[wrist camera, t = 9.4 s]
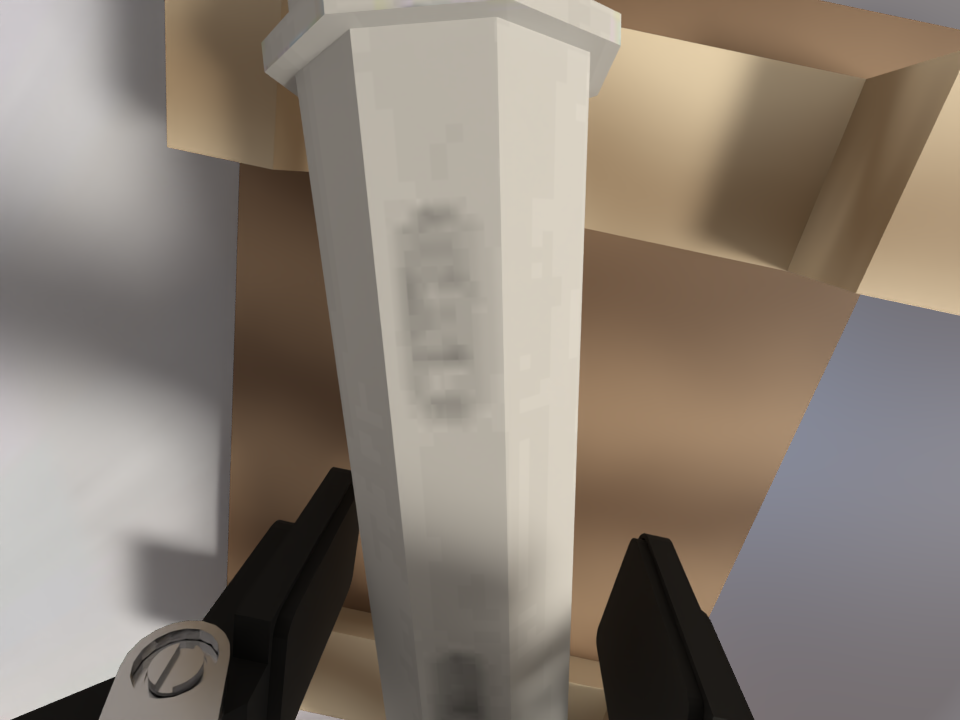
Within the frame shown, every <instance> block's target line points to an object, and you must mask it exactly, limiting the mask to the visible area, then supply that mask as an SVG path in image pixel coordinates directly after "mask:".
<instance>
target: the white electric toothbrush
mask: <svg viewBox="0 0 960 720" xmlns="http://www.w3.org/2000/svg"><path fill="white" fill-rule="evenodd" d="M288 8H289V12H288V13H287V15H286V16H285V17H284V18H283V19H282V20H281V21H280V22H279V23H278V25H277V26H276V27H275V28H274V29H273V30H272V31H271V32H270V34H269V35H268V36H267V37H266V38H265V39H264V40H263V41H262V42H261V45H262V54H263V63H264V72H265V73H266V74H268V75H269V76H270V77H272V78H273V79H274V80H276V81H277V82H279V83H280V84H281V85H283V86H284V87H285V88H287V89H288V90H289V91H291V92H292V93H293V94H295V95H296V96H297V97H298V98H299V105H300V112H301V119H302V126H303V133H304V140H305V148H306V155H307V162H308V169H309V176H310V183H311V190H312V197H313V204H314V211H315V218H316V225H317V233H318V240H319V247H320V254H321V261H322V268H323V275H324V282H325V289H326V296H327V303H328V311H329V318H330V325H331V332H332V339H333V346H334V353H335V360H336V367H337V374H338V381H339V388H340V396H341V403H342V410H343V417H344V424H345V431H346V438H347V445H348V452H349V459H350V466H351V473H352V481H353V488H354V495H355V502H356V509H357V516H358V523H359V530H360V537H361V544H362V551H363V558H364V566H365V573H366V580H367V587H368V594H369V601H370V608H371V615H372V622H373V629H374V636H375V644H376V651H377V658H378V665H379V672H380V679H381V686H382V693H383V700H384V707H385V714H386V720H568V691H569V662H570V633H571V603H572V574H573V545H574V516H575V487H576V458H577V428H578V399H579V370H580V341H581V312H582V283H583V254H584V224H585V195H586V166H587V137H588V108H589V98H591V97H594V96H597V95H598V93H599V91H600V89H601V87H602V85H603V83H604V80H605V78H606V76H607V74H608V72H609V70H610V68H611V65H612V63H613V61H614V59H615V57H616V55H617V53H618V50H619V48H620V46H621V14H620V13H618V12H616V11H614V10H612V9H610V8H608V7H606V6H604V5H602V4H600V3H598V2H596V1H594V0H288Z"/></svg>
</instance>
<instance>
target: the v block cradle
mask: <svg viewBox="0 0 960 720" xmlns="http://www.w3.org/2000/svg"><path fill="white" fill-rule="evenodd" d="M594 1H596V2H598V3H600V4H602V5H604V6H606V7H608V8H610V9H612V10H614V11H616V12H618V13H620V14H621V46H620V48H619V50H618V53H617V55H616V57H615V59H614V61H613V63H612V65H611V68H610V70H609V72H608V74H607V76H606V78H605V80H604V83H603V85H602V87H601V89H600V91H599V93H598V95H597V96H594V97H591V98H589V108H588V137H587V166H586V195H585V224H584V254H583V283H582V312H581V341H580V370H579V399H578V428H577V458H576V487H575V516H574V545H573V574H572V603H571V633H570V662H569V691H568V720H609V718H608V712H607V706H606V700H605V694H604V688H603V682H602V676H601V670H600V664H599V658H598V653H597V646H596V636H597V629H598V626H599V623H600V621H601V618H602V615H603V613H604V610H605V607H606V605H607V602H608V599H609V596H610V594H611V591H612V588H613V586H614V583H615V580H616V578H617V575H618V572H619V569H620V567H621V564H622V561H623V559H624V556H625V553H626V551H627V548H628V545H629V543H630V541H631V539H632V538H637V539H638V538H639V536H640V535H641V534H643V533H646V534H651V535H656V536H660V537H665V538H668V539H670V540H671V541H672V543H673V546H674V548H675V550H676V552H677V555H678V557H679V559H680V562H681V564H682V566H683V569H684V571H685V573H686V576H687V578H688V580H689V583H690V585H691V587H692V590H693V592H694V594H695V597H696V599H697V601H698V604H699V606H700V608H701V610H702V611H704V612H705V613H706V614H707V616H708V617H709V616H710V613H711V611H712V609H713V607H714V605H715V603H716V601H717V599H718V596H719V594H720V592H721V590H722V588H723V586H724V583H725V581H726V579H727V577H728V575H729V573H730V571H731V569H732V567H733V565H734V562H735V560H736V558H737V556H738V554H739V552H740V550H741V548H742V545H743V543H744V541H745V539H746V537H747V535H748V533H749V530H750V528H751V526H752V524H753V522H754V520H755V518H756V516H757V513H758V511H759V509H760V506H761V505H762V503H763V501H764V499H765V496H766V494H767V492H768V490H769V488H770V486H771V484H772V482H773V479H774V477H775V475H776V473H777V471H778V469H779V467H780V464H781V462H782V460H783V458H784V456H785V454H786V452H787V450H788V447H789V445H790V443H791V441H792V439H793V437H794V435H795V432H796V430H797V428H798V426H799V424H800V422H801V420H802V418H803V416H804V413H805V411H806V409H807V407H808V405H809V403H810V401H811V399H812V396H813V394H814V392H815V390H816V388H817V386H818V383H819V381H820V379H821V377H822V375H823V373H824V371H825V368H826V366H827V364H828V362H829V360H830V358H831V356H832V354H833V352H834V349H835V347H836V345H837V343H838V341H839V339H840V337H841V335H842V333H843V330H844V328H845V326H846V324H847V322H848V320H849V318H850V315H851V313H852V311H853V309H854V307H855V305H856V303H857V301H858V298H859V296H860V294H862V295H866V296H871V297H876V298H881V299H886V300H890V301H895V302H899V303H904V304H909V305H913V306H918V307H923V308H928V309H933V310H937V311H942V312H947V313H951V314H956V315H960V30H958V29H954V28H949V27H944V26H939V25H934V24H930V23H925V22H920V21H916V20H911V19H906V18H901V17H897V16H892V15H887V14H882V13H878V12H873V11H868V10H864V9H858V8H854V7H849V6H845V5H840V4H835V3H830V2H825V1H821V0H594ZM288 12H289V8H288V0H165V49H166V110H167V147H169V148H173V149H178V150H183V151H188V152H192V153H197V154H202V155H206V156H211V157H216V158H220V159H225V160H230V161H235V162H239V163H240V170H239V203H238V236H237V269H236V302H235V335H234V368H233V401H232V434H231V467H230V500H229V533H228V566H227V586H228V585H229V583H230V582H231V580H232V579H233V578H234V576H235V575H236V574H237V572H238V571H239V569H240V568H241V567H242V565H243V564H244V563H245V561H246V560H247V558H248V557H249V556H250V554H251V553H252V552H253V550H254V549H255V547H256V546H257V545H258V543H259V542H260V541H261V539H262V538H263V536H264V535H265V534H266V532H267V531H268V530H269V528H270V527H271V526H272V525H273V523H274V522H275V521H277V520H283V521H288V522H293V523H295V522H296V520H297V519H298V517H299V516H300V514H301V513H302V511H303V510H304V508H305V507H306V505H307V504H308V502H309V501H310V499H311V498H312V496H313V495H314V493H315V492H316V490H317V489H318V487H319V486H320V484H321V483H322V481H323V480H324V478H325V477H326V475H327V474H328V472H329V471H330V469H331V468H332V467H337V468H342V469H347V470H351V466H350V459H349V452H348V445H347V438H346V431H345V424H344V417H343V410H342V403H341V396H340V388H339V381H338V374H337V367H336V360H335V353H334V346H333V339H332V332H331V325H330V318H329V311H328V303H327V296H326V289H325V282H324V275H323V268H322V261H321V254H320V247H319V240H318V233H317V225H316V218H315V211H314V204H313V197H312V190H311V183H310V176H309V169H308V162H307V155H306V148H305V140H304V133H303V126H302V119H301V112H300V105H299V98H298V97H297V96H296V95H295V94H293V93H292V92H291V91H289V90H288V89H287V88H285V87H284V86H283V85H281V84H280V83H279V82H277V81H276V80H274V79H273V78H272V77H270V76H269V75H268V74H266V73H265V72H264V63H263V54H262V45H261V42H262V41H263V40H264V39H265V38H266V37H267V36H268V35H269V34H270V32H271V31H272V30H273V29H274V28H275V27H276V26H277V25H278V23H279V22H280V21H281V20H282V19H283V18H284V17H285V16H286V15H287V13H288ZM299 710H303V711H308V712H312V713H317V714H322V715H326V716H331V717H336V718H340V719H345V720H386V714H385V707H384V700H383V693H382V686H381V679H380V672H379V665H378V658H377V651H376V644H375V636H374V629H373V622H372V615H371V608H370V601H369V594H368V587H367V580H366V573H365V566H364V558H363V551H362V544H361V537H360V530H359V536H358V543H357V550H356V557H355V564H354V571H353V577H352V582H351V585H350V588H349V591H348V594H347V596H346V599H345V601H344V604H343V606H342V608H341V611H340V613H339V616H338V618H337V620H336V623H335V625H334V628H333V630H332V632H331V635H330V637H329V639H328V642H327V644H326V647H325V649H324V651H323V654H322V656H321V659H320V661H319V663H318V666H317V668H316V671H315V673H314V675H313V678H312V680H311V682H310V685H309V687H308V690H307V692H306V694H305V697H304V699H303V702H302V704H301V706H300V709H299Z"/></svg>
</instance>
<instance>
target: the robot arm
mask: <svg viewBox="0 0 960 720" xmlns="http://www.w3.org/2000/svg"><path fill="white" fill-rule="evenodd" d="M358 536H359V523H358V516H357V509H356V502H355V495H354V488H353V481H352V473H351V470H347V469H342V468H337V467H332V468H331V469H330V471H329V472H328V474H327V475H326V477H325V478H324V480H323V481H322V483H321V484H320V486H319V487H318V489H317V490H316V492H315V493H314V495H313V496H312V498H311V499H310V501H309V502H308V504H307V505H306V507H305V508H304V510H303V511H302V513H301V514H300V516H299V517H298V519H297V520H296V522H295V523H293V522H288V521H283V520H277V521H275V522H274V523H273V525H272V526H271V527H270V528H269V530H268V531H267V532H266V534H265V535H264V536H263V538H262V539H261V541H260V542H259V543H258V545H257V546H256V547H255V549H254V550H253V552H252V553H251V554H250V556H249V557H248V558H247V560H246V561H245V563H244V564H243V565H242V567H241V568H240V569H239V571H238V572H237V574H236V575H235V576H234V578H233V579H232V580H231V582H230V583H229V585H228V586H227V587H226V589H225V590H224V591H223V593H222V594H221V596H220V597H219V598H218V600H217V601H216V602H215V604H214V605H213V607H212V608H211V609H210V611H209V612H208V613H207V615H206V616H205V618H204V619H203V620H202V621H189V620H188V621H183V622H178V623H172V624H170V625H167V626H165V627H162V628H160V629H157V630H155V631H154V632H152V633H151V634H149V635H147V636H146V637H144V638H143V639H141V640H140V641H139V642H138V643H137V644H136V645H135V646H134V647H133V648H132V649H131V650H130V651H129V652H128V653H127V655H126V657H125V658H124V660H123V662H122V664H121V665H120V667H119V670H118V672H117V675H116V677H113V678H111V679H109V680H106V681H104V682H101V683H99V684H97V685H94V686H92V687H89V688H87V689H84V690H82V691H80V692H77V693H75V694H72V695H70V696H67V697H65V698H63V699H60V700H58V701H55V702H53V703H50V704H48V705H46V706H43V707H41V708H38V709H36V710H33V711H31V712H29V713H26V714H24V715H21V716H19V717H16V718H14V719H12V720H295V718H296V716H297V714H298V711H299V709H300V706H301V704H302V702H303V699H304V697H305V694H306V692H307V690H308V687H309V685H310V682H311V680H312V678H313V675H314V673H315V671H316V668H317V666H318V663H319V661H320V659H321V656H322V654H323V651H324V649H325V647H326V644H327V642H328V639H329V637H330V635H331V632H332V630H333V628H334V625H335V623H336V620H337V618H338V616H339V613H340V611H341V608H342V606H343V604H344V601H345V599H346V596H347V594H348V591H349V588H350V585H351V582H352V577H353V571H354V564H355V557H356V550H357V543H358ZM596 646H597V653H598V658H599V664H600V670H601V676H602V682H603V688H604V694H605V700H606V706H607V712H608V718H609V720H754V718H753V716H752V714H751V711H750V709H749V707H748V704H747V702H746V700H745V698H744V695H743V693H742V691H741V689H740V686H739V684H738V682H737V679H736V677H735V675H734V673H733V671H732V668H731V666H730V664H729V662H728V659H727V657H726V655H725V653H724V650H723V648H722V646H721V643H720V641H719V639H718V637H717V634H716V632H715V630H714V627H713V625H712V623H711V621H710V619H709V617H708V616H707V614H706V613H705V612H704V611H702V610H701V608H700V606H699V604H698V601H697V599H696V597H695V594H694V592H693V590H692V587H691V585H690V583H689V580H688V578H687V576H686V573H685V571H684V569H683V566H682V564H681V562H680V559H679V557H678V555H677V552H676V550H675V548H674V546H673V543H672V541H671V540H670V539H668V538H665V537H660V536H656V535H651V534H646V533H643V534H641V535H640V536H639V538H638V539H637V538H632V539H631V541H630V543H629V545H628V548H627V551H626V553H625V556H624V559H623V561H622V564H621V567H620V569H619V572H618V575H617V578H616V580H615V583H614V586H613V588H612V591H611V594H610V596H609V599H608V602H607V605H606V607H605V610H604V613H603V615H602V618H601V621H600V623H599V626H598V629H597V636H596Z"/></svg>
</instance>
